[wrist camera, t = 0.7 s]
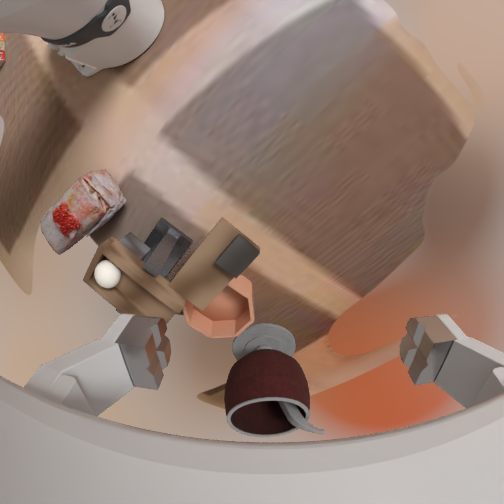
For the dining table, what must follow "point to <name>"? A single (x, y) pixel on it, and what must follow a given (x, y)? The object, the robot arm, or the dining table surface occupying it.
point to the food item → (82, 210)
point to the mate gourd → (267, 384)
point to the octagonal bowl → (224, 311)
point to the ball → (107, 274)
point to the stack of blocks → (2, 49)
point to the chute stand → (164, 248)
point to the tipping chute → (186, 280)
